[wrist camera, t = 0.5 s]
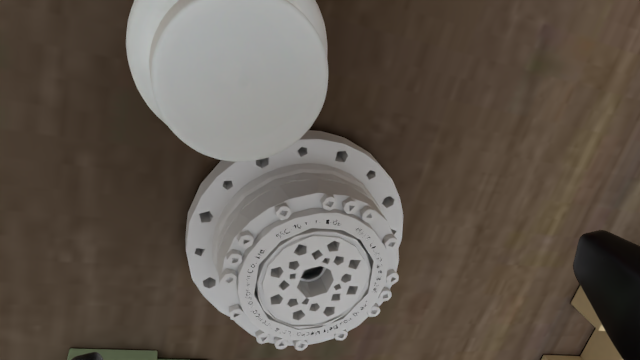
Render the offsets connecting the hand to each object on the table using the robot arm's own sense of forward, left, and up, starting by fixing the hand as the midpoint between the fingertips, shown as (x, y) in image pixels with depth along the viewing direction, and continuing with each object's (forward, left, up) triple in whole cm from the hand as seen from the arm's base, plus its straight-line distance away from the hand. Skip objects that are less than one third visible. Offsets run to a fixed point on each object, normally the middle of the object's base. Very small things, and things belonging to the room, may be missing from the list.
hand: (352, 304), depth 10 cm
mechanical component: (-2, -7, -14) cm, 16 cm away
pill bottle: (0, +3, -14) cm, 15 cm away
